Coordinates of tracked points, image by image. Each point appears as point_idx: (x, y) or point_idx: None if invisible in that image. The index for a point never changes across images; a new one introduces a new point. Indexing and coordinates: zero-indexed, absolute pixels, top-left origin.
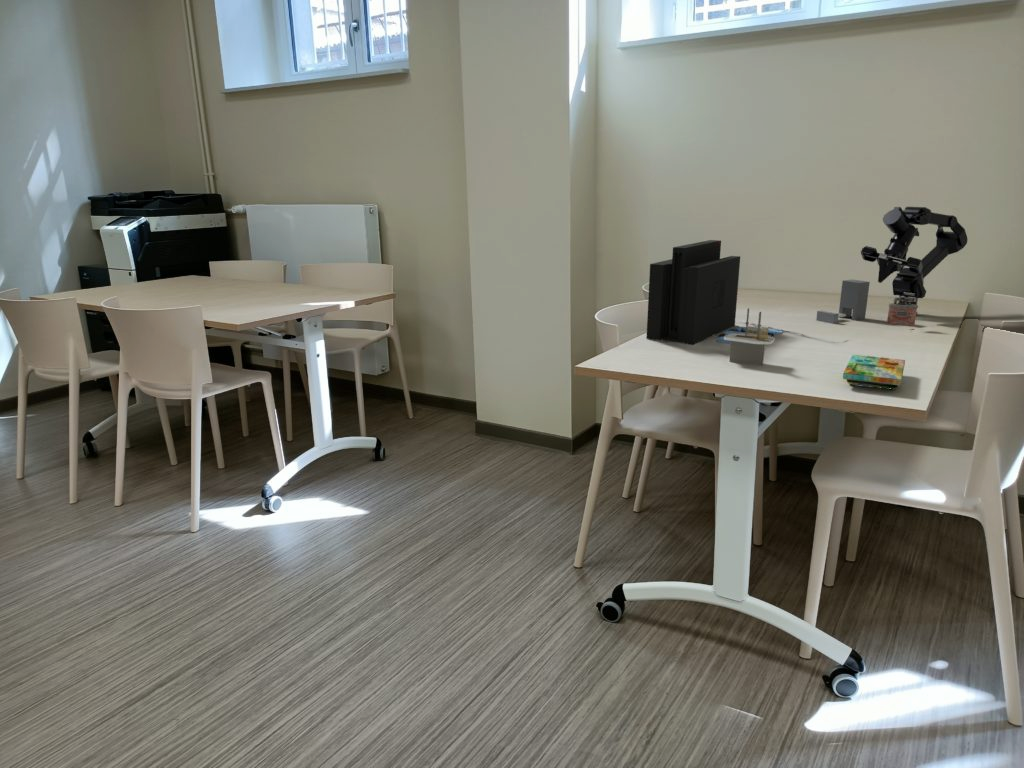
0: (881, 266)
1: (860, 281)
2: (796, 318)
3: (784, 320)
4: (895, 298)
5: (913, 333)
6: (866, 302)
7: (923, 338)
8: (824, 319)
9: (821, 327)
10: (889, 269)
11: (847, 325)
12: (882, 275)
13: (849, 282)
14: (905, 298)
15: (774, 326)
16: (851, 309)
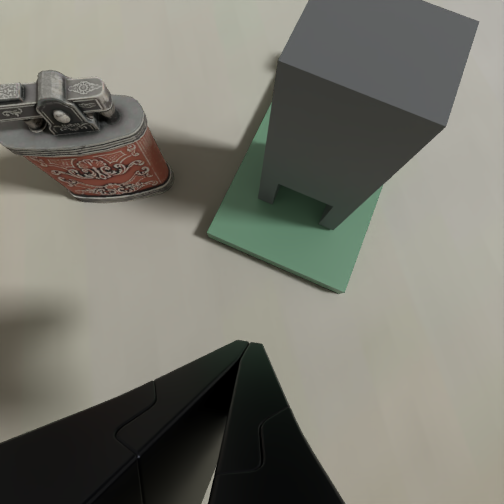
0: (267, 451)
1: (347, 42)
2: (486, 161)
3: (497, 103)
4: (97, 81)
5: None
6: (265, 157)
7: (41, 53)
8: None
9: None
10: (101, 403)
11: None
12: (222, 364)
13: (409, 5)
14: (37, 81)
15: (468, 2)
16: (329, 207)
